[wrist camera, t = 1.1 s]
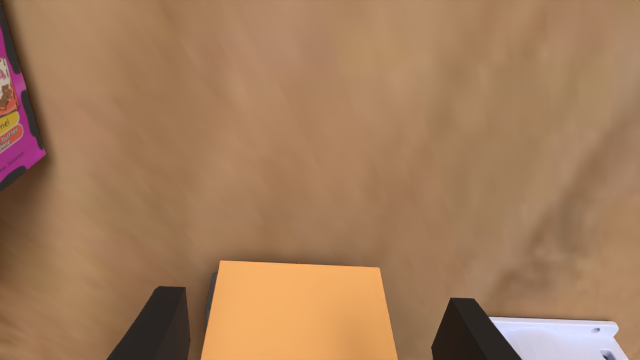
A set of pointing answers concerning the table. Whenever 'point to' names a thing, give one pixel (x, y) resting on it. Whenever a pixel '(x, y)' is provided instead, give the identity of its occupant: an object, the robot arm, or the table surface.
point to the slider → (298, 313)
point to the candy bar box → (15, 115)
